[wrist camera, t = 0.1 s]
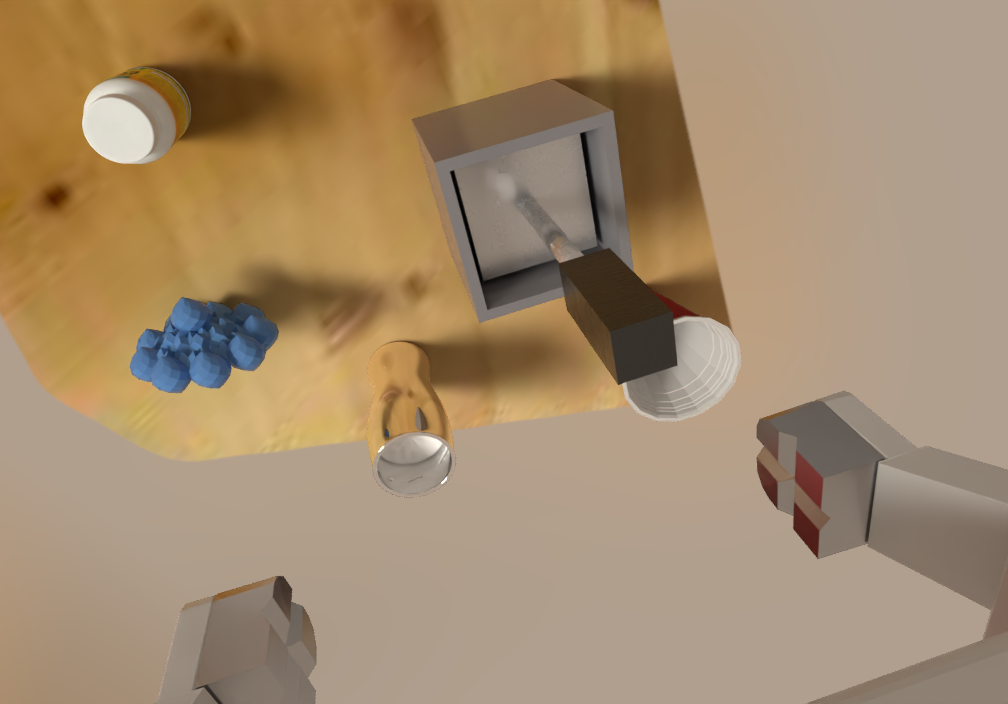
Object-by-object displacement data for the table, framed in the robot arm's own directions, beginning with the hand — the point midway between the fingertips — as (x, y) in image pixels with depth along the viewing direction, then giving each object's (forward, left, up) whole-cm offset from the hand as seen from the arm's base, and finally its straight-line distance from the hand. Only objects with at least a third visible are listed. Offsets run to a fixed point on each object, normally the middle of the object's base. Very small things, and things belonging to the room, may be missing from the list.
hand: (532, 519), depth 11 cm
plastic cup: (+27, +18, -48) cm, 58 cm away
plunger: (+9, +8, -38) cm, 40 cm away
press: (+9, +8, -48) cm, 50 cm away
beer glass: (+25, -6, -48) cm, 55 cm away
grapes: (+13, -19, -48) cm, 53 cm away
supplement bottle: (-3, -16, -48) cm, 51 cm away
